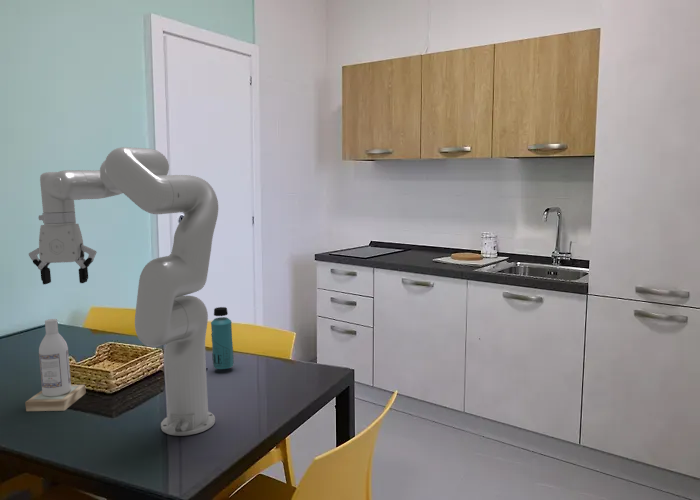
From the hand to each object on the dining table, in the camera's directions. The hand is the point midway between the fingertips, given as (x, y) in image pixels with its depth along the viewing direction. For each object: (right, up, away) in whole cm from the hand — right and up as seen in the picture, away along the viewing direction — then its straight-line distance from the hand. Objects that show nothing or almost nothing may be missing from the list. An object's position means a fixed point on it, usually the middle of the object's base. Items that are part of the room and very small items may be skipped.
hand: (65, 283), depth 151 cm
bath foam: (-3, -30, +1) cm, 30 cm away
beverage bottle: (+37, -29, +25) cm, 53 cm away
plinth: (-3, -32, +2) cm, 32 cm away
